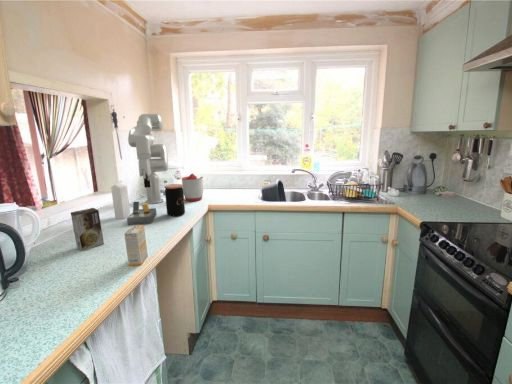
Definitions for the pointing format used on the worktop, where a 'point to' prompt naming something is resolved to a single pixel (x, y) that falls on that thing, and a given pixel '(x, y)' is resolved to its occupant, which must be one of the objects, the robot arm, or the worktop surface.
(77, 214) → the coffee box
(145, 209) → the paddle amber
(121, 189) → the milk
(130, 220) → the switch panel
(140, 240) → the supplement box
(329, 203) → the worktop surface
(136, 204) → the paddle black
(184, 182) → the citrus juicer
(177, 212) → the coffee jar
